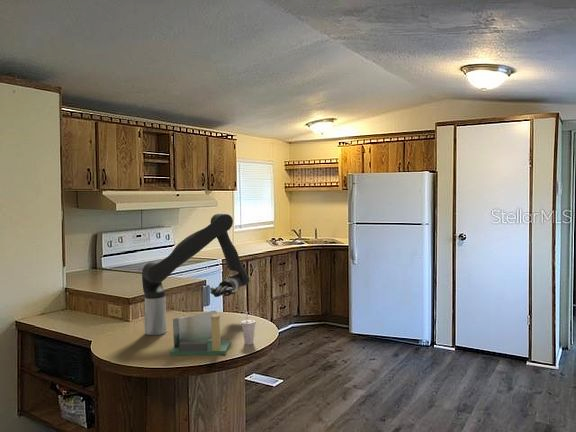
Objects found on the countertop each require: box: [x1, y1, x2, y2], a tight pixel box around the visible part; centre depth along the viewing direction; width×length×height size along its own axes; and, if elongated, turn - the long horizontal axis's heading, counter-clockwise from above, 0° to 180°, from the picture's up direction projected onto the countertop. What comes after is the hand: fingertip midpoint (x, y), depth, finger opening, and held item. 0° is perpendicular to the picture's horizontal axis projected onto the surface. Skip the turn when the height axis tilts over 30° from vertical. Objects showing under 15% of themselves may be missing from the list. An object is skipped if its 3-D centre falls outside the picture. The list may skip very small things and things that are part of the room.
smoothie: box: [240, 311, 257, 346], centre depth 213 cm, size 6×6×14 cm
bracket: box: [169, 313, 232, 356], centre depth 207 cm, size 23×14×16 cm, turn 88°
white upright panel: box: [172, 310, 218, 348], centre depth 209 cm, size 20×2×12 cm, turn 128°
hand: (216, 294), depth 222 cm, fingers closed
